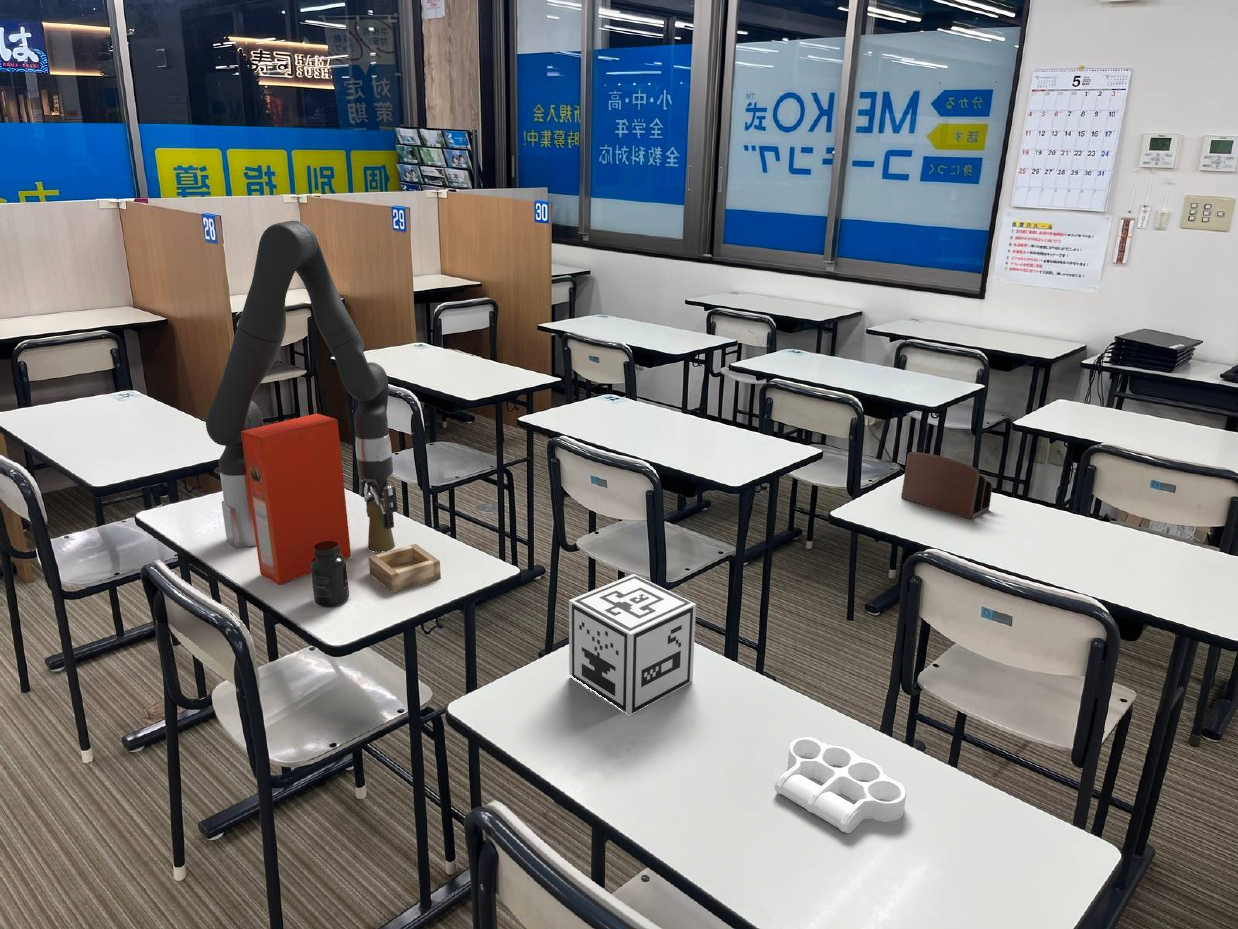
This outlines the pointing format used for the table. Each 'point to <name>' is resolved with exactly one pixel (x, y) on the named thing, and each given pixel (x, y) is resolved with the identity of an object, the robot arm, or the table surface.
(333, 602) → the supplement bottle
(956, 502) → the letter holder
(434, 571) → the oak holder
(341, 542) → the file binder
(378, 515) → the olive knobbed tapered cylinder
